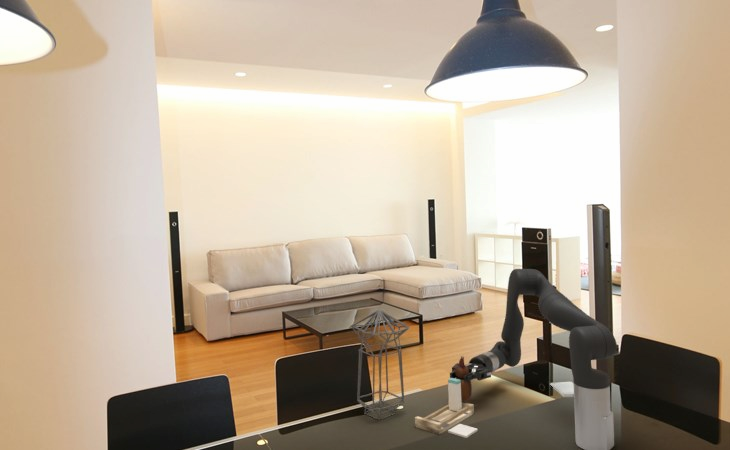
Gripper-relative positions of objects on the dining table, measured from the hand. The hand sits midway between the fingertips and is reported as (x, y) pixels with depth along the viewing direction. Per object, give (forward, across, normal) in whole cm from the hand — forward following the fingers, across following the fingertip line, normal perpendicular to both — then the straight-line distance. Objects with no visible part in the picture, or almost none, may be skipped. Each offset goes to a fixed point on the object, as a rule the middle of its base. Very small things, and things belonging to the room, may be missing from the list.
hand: (458, 377), depth 171 cm
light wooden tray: (+8, 0, +12) cm, 14 cm away
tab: (+2, 0, +10) cm, 10 cm away
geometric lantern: (+16, -20, +12) cm, 28 cm away
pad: (+12, +9, +12) cm, 19 cm away
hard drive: (-40, +20, +13) cm, 47 cm away
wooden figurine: (-3, 0, +8) cm, 9 cm away
